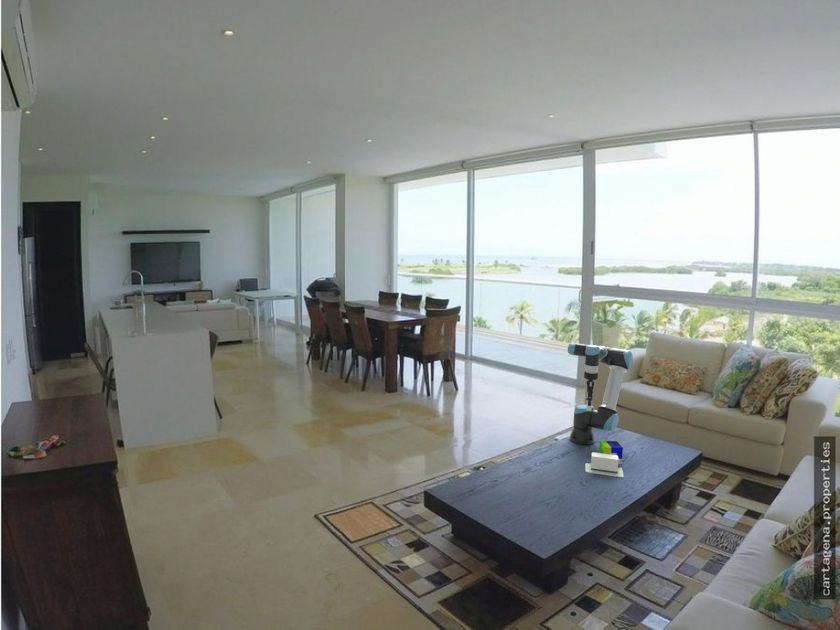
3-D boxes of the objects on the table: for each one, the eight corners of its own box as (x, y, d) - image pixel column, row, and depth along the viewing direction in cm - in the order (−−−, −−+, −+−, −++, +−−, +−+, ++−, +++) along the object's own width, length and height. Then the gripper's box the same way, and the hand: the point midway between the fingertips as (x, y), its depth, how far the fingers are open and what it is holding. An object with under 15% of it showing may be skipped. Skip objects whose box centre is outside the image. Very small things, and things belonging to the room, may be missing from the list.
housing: (591, 468, 294) (591, 456, 292) (590, 463, 299) (591, 452, 298) (617, 471, 289) (618, 459, 288) (616, 467, 295) (617, 455, 294)
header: (585, 463, 303) (586, 452, 302) (622, 468, 297) (622, 457, 296) (585, 472, 292) (586, 461, 291) (623, 477, 286) (624, 466, 285)
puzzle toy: (621, 464, 304) (622, 447, 302) (604, 463, 304) (605, 447, 302) (615, 457, 313) (616, 441, 312) (598, 456, 314) (600, 440, 312)
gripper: (584, 366, 315) (582, 400, 318) (584, 376, 291) (582, 413, 294) (597, 367, 313) (595, 401, 316) (598, 377, 289) (596, 414, 292)
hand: (588, 407), depth 305 cm, fingers open, 13 cm apart
